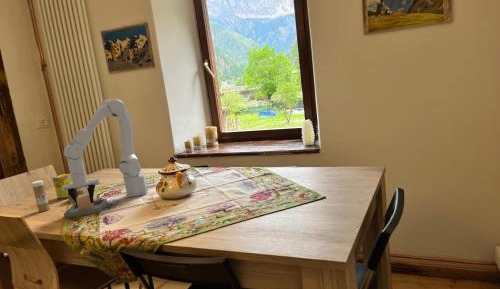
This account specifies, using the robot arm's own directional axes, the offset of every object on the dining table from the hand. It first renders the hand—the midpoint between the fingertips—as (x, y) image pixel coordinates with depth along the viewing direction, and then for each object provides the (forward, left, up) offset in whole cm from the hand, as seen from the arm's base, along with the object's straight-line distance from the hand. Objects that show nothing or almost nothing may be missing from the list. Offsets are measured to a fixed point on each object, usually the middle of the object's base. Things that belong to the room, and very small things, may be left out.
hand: (85, 204), depth 162 cm
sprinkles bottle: (+22, -12, -3) cm, 25 cm away
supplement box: (+18, -29, -3) cm, 34 cm away
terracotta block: (0, 0, -2) cm, 2 cm away
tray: (0, 0, -3) cm, 3 cm away
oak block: (+9, -21, -3) cm, 23 cm away
